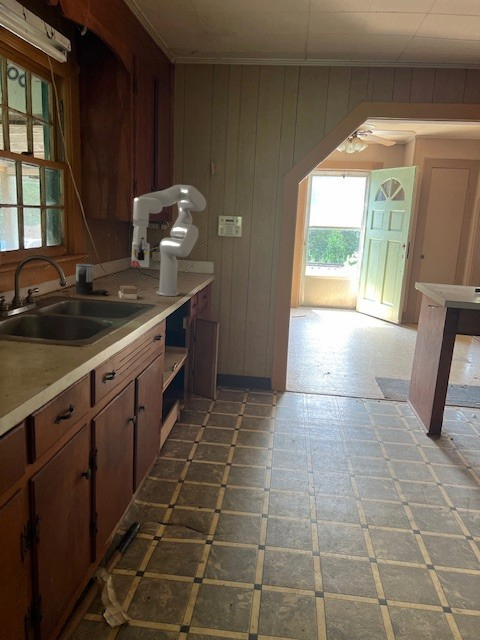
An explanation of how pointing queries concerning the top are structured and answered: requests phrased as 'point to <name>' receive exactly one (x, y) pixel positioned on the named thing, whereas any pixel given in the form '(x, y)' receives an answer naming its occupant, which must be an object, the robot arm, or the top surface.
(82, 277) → the milk frother
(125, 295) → the maple slab
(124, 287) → the walnut slab
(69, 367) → the top surface
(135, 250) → the ink box
